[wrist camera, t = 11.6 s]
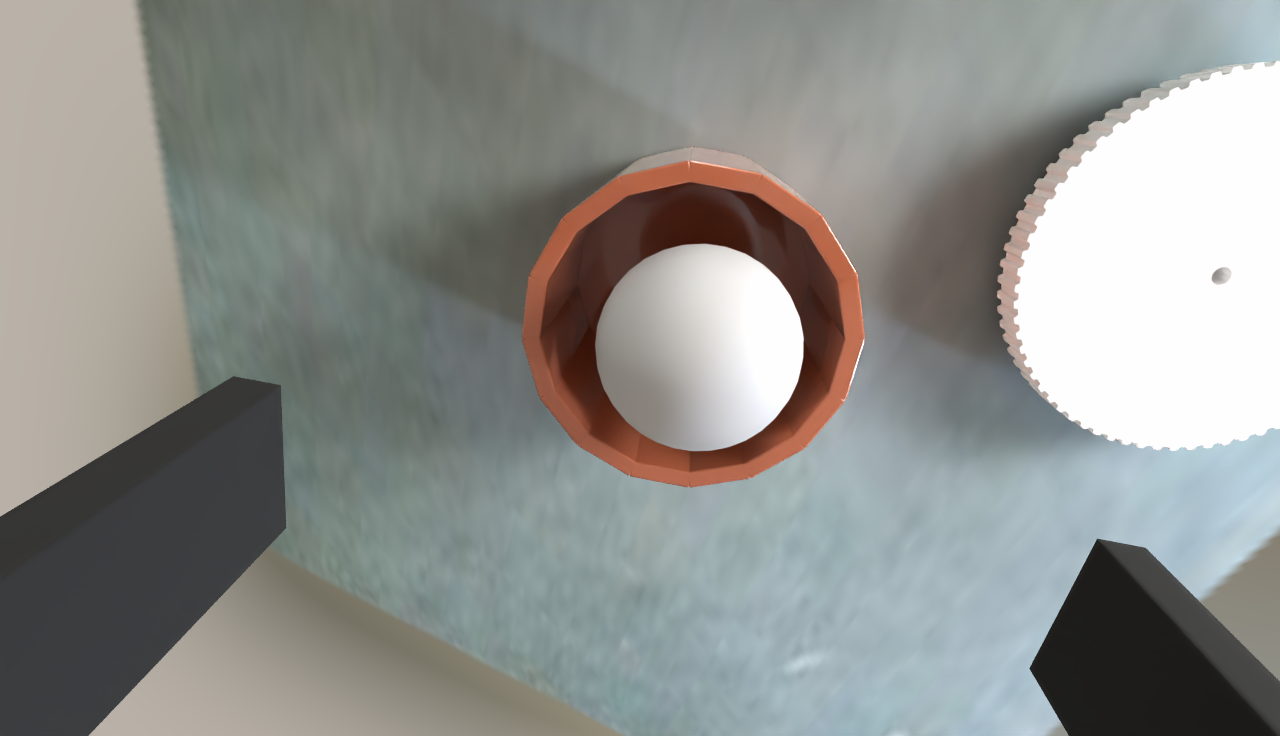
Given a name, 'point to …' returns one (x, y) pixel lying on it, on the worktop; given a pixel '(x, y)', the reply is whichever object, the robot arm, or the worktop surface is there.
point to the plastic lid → (1157, 266)
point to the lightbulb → (699, 347)
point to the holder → (669, 217)
